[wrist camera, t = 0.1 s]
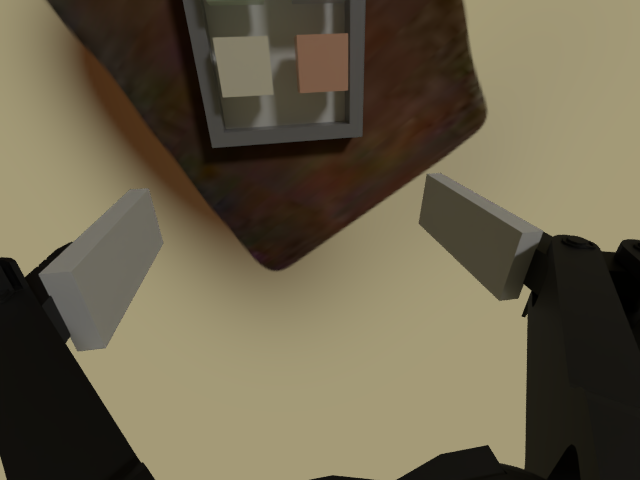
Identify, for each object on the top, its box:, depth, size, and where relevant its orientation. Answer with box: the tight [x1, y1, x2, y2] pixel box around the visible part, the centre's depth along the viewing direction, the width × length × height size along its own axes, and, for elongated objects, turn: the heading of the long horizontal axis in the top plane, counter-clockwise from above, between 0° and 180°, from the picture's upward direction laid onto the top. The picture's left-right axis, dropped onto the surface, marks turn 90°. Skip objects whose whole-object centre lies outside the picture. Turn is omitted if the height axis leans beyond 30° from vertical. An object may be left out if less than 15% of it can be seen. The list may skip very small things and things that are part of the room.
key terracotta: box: [294, 33, 348, 93], centre depth 34 cm, size 5×5×2 cm
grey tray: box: [183, 0, 365, 148], centre depth 33 cm, size 24×18×3 cm
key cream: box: [213, 36, 274, 98], centre depth 33 cm, size 5×5×2 cm
